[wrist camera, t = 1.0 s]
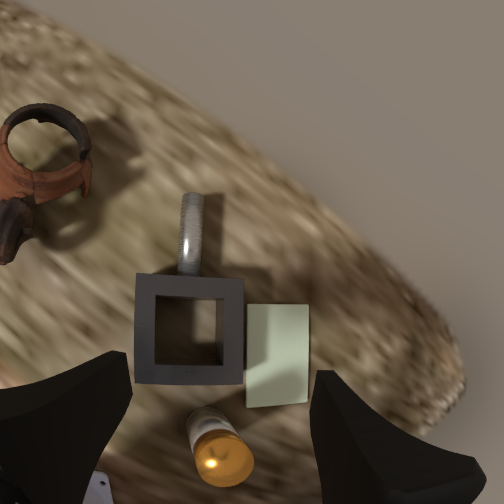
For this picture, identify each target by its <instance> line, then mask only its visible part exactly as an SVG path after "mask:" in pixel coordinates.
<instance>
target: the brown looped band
mask: <svg viewBox="0 0 504 504" xmlns="http://www.w3.org/2000/svg"><path fill="white" fill-rule="evenodd" d="M29 119H37V120H38V122H39V123H43V122H50V123H54V124H56V125H58V126H60V127H62V128H64V129H66V130H68V131H69V132H70V134H71V135H72V136H73V137H74V138H75V139H76V141H77V142H78V147H79V157H80V162H78V161H74V162H73V163H72V164H70V165H69V166H67V167H65V168H64V169H62V170H58V171H53V172H37V171H32V170H30V169H28V168H26V167H24V166H23V165H21V164H20V163H18V162H17V161H16V160H15V159H14V157H13V156H12V155H11V153H10V151H9V149H8V143H7V140H8V135H9V133H10V131H11V130H12V129H13V128H14V127H15V126H16V125H17V124H19V123H21V122H23V121H26V120H29ZM90 150H91V140H90V137H89V134H88V131H87V129H86V127H85V125H84V124H83V123H82V122H81V121H80V120H79V119H78V118H76V116H75V115H74V114H73V113H71V112H70V111H68V110H66V109H64V108H62V107H60V106H57V105H53V104H47V103H42V104H40V103H37V104H30V105H27V106H24V107H21V108H19V109H17V110H16V111H14V112H13V113H12V114H11V115H10V116H9V117H8V118H7V119H6V120H5V121H4V123H3V126H2V127H1V129H0V265H6V264H7V263H10V262H12V261H13V260H14V258H15V256H16V254H17V251H18V249H19V247H20V246H21V244H22V243H23V242H25V241H27V240H29V239H30V238H32V231H31V229H32V227H33V223H34V214H33V212H32V208H31V206H30V204H29V203H28V202H27V201H25V200H23V198H24V197H26V196H30V195H33V196H34V199H35V203H36V204H40V203H43V202H46V201H49V200H52V199H56V198H59V197H61V196H62V195H64V194H66V193H69V192H71V191H73V190H74V189H76V188H77V187H78V186H80V185H82V192H81V196H82V198H86V196H87V194H88V190H89V187H90V183H91V176H92V161H91V158H90V153H89V151H90Z"/></svg>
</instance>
